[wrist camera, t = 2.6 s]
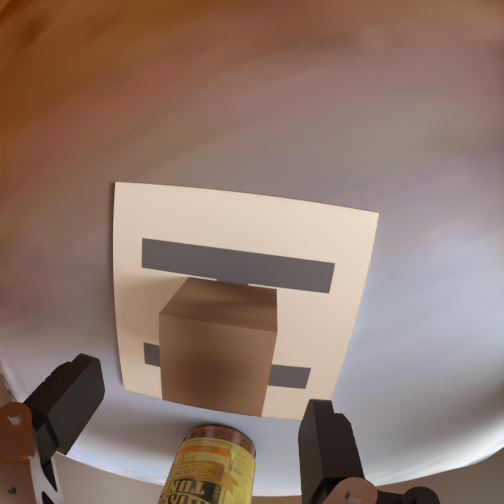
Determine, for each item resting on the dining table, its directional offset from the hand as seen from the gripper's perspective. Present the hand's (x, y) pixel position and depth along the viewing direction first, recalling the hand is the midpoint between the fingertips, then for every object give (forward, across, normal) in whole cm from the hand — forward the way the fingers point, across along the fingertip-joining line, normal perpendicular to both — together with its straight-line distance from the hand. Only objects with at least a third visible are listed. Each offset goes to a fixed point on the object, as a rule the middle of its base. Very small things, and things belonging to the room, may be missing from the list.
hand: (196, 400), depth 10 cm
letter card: (+8, 0, +1) cm, 8 cm away
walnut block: (+8, 0, +1) cm, 8 cm away
